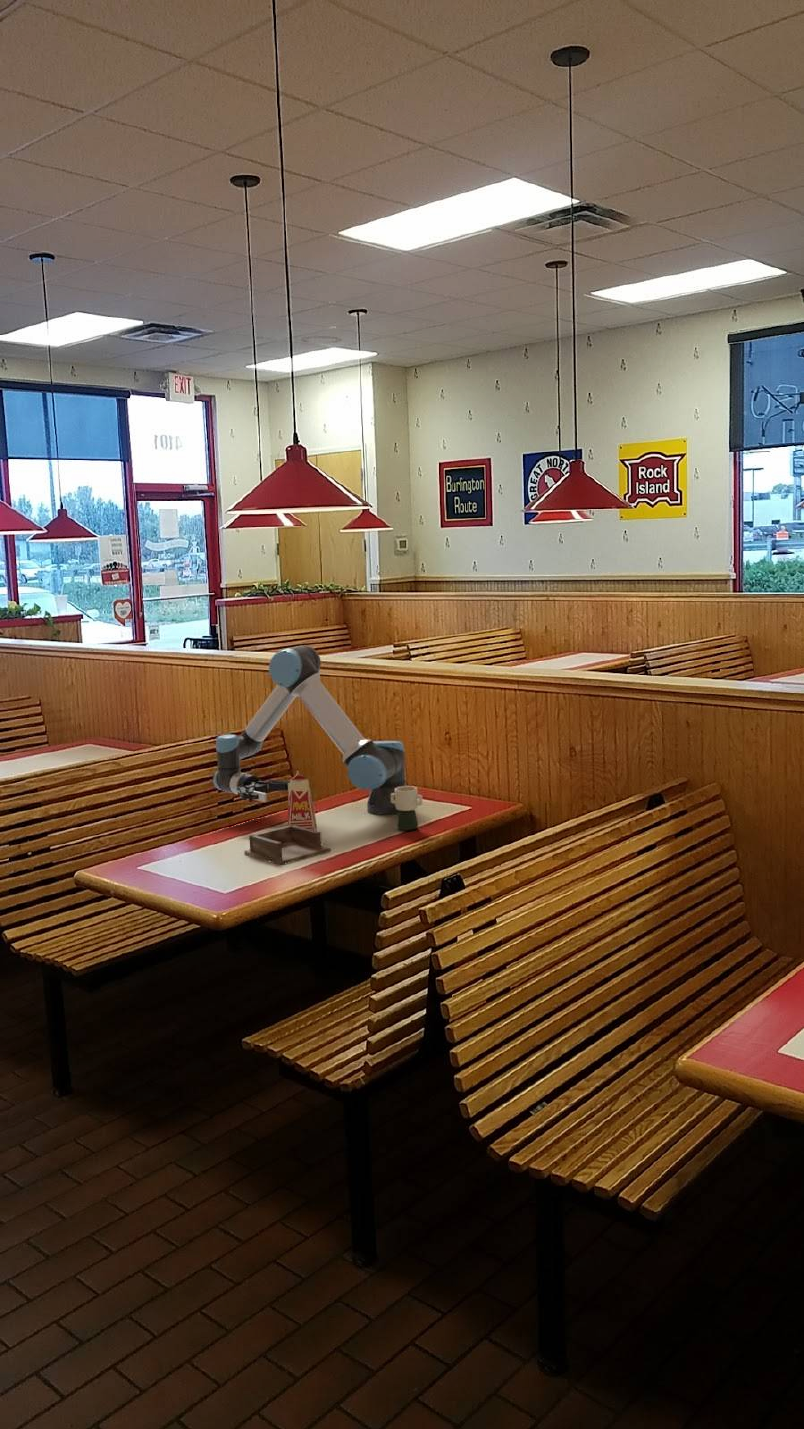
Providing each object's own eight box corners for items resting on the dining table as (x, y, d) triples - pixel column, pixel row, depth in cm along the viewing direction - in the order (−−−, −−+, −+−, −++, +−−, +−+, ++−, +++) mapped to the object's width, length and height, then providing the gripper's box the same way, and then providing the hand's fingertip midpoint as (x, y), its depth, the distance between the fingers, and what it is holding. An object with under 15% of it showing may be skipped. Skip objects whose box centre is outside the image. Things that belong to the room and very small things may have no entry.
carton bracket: (294, 840, 335) (293, 823, 335) (330, 851, 322) (329, 832, 321) (244, 854, 324) (243, 835, 323) (280, 865, 310) (278, 846, 309)
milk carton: (316, 834, 342) (312, 771, 338) (287, 836, 341) (282, 773, 338) (317, 827, 351) (313, 765, 347) (288, 829, 350) (283, 767, 347)
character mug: (428, 827, 342) (426, 786, 340) (418, 833, 336) (416, 792, 334) (397, 825, 347) (395, 784, 345) (387, 831, 341) (384, 790, 339)
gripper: (277, 789, 375) (315, 797, 359) (214, 803, 359) (251, 813, 343) (276, 767, 374) (314, 775, 358) (212, 780, 358) (249, 789, 342)
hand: (283, 793), depth 350 cm, fingers open, 13 cm apart
